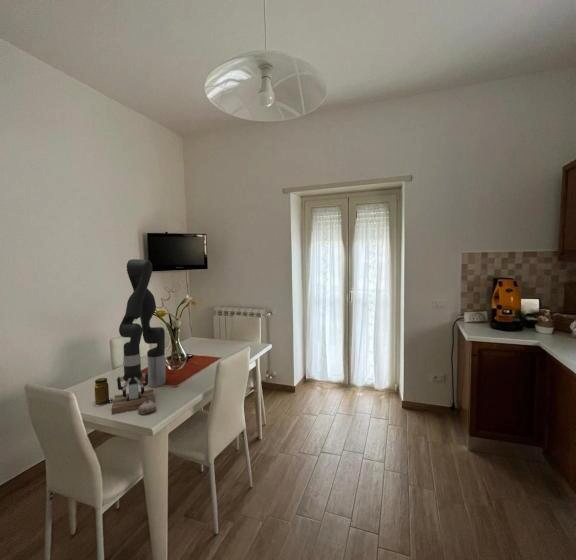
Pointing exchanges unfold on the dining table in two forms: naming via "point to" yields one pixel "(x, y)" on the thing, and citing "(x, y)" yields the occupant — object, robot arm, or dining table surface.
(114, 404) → the board
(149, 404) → the garlic bulb
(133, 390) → the peg
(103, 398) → the condiment
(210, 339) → the dining table surface
